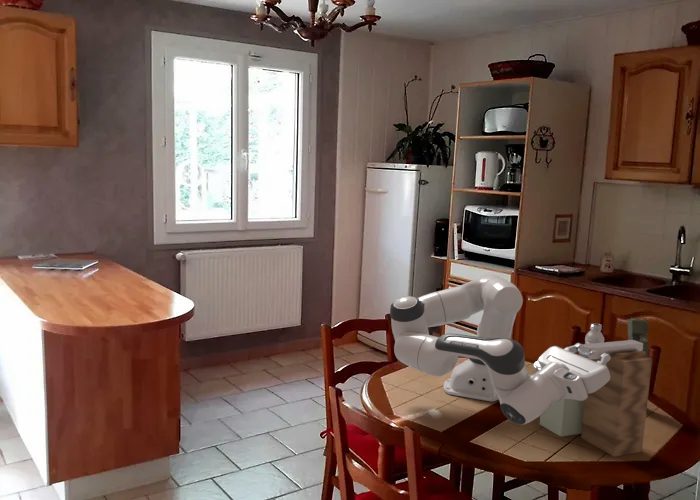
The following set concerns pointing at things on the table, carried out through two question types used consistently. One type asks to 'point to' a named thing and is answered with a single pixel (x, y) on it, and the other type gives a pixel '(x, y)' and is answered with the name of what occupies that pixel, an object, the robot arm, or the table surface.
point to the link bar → (609, 348)
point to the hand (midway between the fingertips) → (594, 350)
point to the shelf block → (564, 417)
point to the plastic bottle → (594, 334)
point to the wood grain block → (619, 405)
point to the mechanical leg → (638, 332)
